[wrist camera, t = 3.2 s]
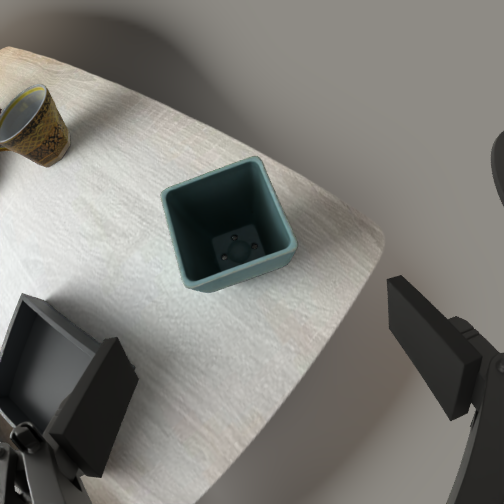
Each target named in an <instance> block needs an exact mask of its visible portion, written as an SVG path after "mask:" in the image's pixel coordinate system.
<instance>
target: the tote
mask: <svg viewBox="0 0 504 504" xmlns="http://www.w3.org/2000/svg"><path fill="white" fill-rule="evenodd" d="M100 346H101V343H99V342H98V341H96V340H95V339H94V338H92V337H91V336H89V335H88V334H87V333H85V332H84V331H83V330H81V329H80V328H79V327H77V326H76V325H75V324H73V323H72V322H71V321H69V320H68V319H67V318H66V317H64V316H63V315H62V314H60V313H59V312H58V311H57V310H55V309H54V308H53V307H52V306H51V305H49V304H48V303H47V302H46V301H44V300H42V299H39V298H36V297H32V296H29V295H26V294H23V293H22V294H21V296H20V299H19V301H18V304H17V306H16V309H15V311H14V314H13V317H12V319H11V322H10V325H9V327H8V330H7V333H6V336H5V339H4V342H3V345H2V348H1V351H0V414H1V415H2V416H3V417H4V418H5V419H6V420H7V422H8V423H9V424H10V425H11V426H12V427H13V428H15V427H16V426H17V425H19V424H20V423H23V422H31V423H33V424H34V426H35V427H36V428H37V430H38V431H39V432H40V433H41V435H43V433H44V431H45V429H46V428H47V426H48V424H49V422H50V421H51V419H52V417H53V416H54V414H55V412H56V410H58V407H59V405H60V404H61V402H62V400H63V399H65V398H66V397H67V396H68V395H69V394H70V393H72V391H73V389H74V388H75V386H76V384H77V383H78V381H79V379H80V378H81V376H82V375H83V373H84V371H85V370H86V368H87V366H88V365H89V363H90V362H91V360H92V359H93V357H94V355H95V354H96V352H97V351H98V349H99V348H100ZM131 365H132V364H131ZM132 367H133V369H135V366H133V365H132ZM77 475H78V476H79V477H81V476H83V475H85V474H84V473H83V472H82V471H81V470H80V469H78V471H77Z"/></svg>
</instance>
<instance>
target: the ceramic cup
mask: <svg viewBox="0 0 504 504" xmlns="http://www.w3.org/2000/svg"><path fill="white" fill-rule="evenodd" d="M70 144H71V142H70V133H69V131H68V129H67V127H66V125H65V123H64V121H63V119H62V117H61V115H60V113H59V112H58V110H57V108H56V105H55V103H54V101H53V99H52V97H51V95H50V93H49V91H48V89H47V88H46V86H44V85H42V84H37V85H33V86H31V87H29V88H27V89H25V90H24V91H22V92H21V93H20V94H18V95H17V96H16V97H15V98H14V99H13V100H12V101H11V102H10V103H9V104H8V105H7V107H6V108H5V109H4V111H3V112H2V114H1V115H0V145H1V146H3V148H0V151H13V152H16V153H19V154H21V155H23V156H24V157H26V158H28V159H30V160H32V161H33V162H35V163H37V164H39V165H41V166H44V167H50V166H51V165H53V164H54V163H56V162H58V161H59V160H61V159H62V157H63V156H64V154H65V153H66V151H67V149H68V148H69V146H70Z"/></svg>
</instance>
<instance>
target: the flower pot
mask: <svg viewBox="0 0 504 504" xmlns="http://www.w3.org/2000/svg"><path fill="white" fill-rule="evenodd" d="M160 197H161V202H162V206H163V210H164V213H165V217H166V221H167V225H168V229H169V232H170V237H171V241H172V245H173V248H174V252H175V256H176V260H177V263H178V267H179V271H180V275H181V279H182V282H183V284H184V286H185V287H186V288H188V289H192V290H196V291H200V292H205V293H211V292H215V291H218V290H221V289H224V288H226V287H229V286H232V285H235V284H237V283H240V282H243V281H246V280H248V279H251V278H254V277H257V276H260V275H262V274H265V273H268V272H271V271H273V270H276V269H279V268H282V267H284V266H286V265H287V264H288V263H289V262H290V260H291V259H292V257H293V255H294V253H295V251H296V249H297V248H298V242H297V240H296V237H295V235H294V233H293V231H292V228H291V226H290V224H289V221H288V219H287V217H286V215H285V213H284V211H283V208H282V206H281V204H280V202H279V199H278V197H277V195H276V192H275V190H274V188H273V186H272V183H271V181H270V179H269V176H268V174H267V171H266V169H265V167H264V164H263V162H262V160H261V159H260V158H259V157H258V156H252V157H249V158H246V159H243V160H240V161H238V162H235V163H232V164H229V165H227V166H224V167H222V168H219V169H216V170H213V171H210V172H208V173H206V174H203V175H200V176H198V177H195V178H192V179H189V180H187V181H184V182H182V183H179V184H176V185H173V186H171V187H168V188H166V189H165V190H163V191H162V192H161V194H160ZM233 236H237V239H236V240H233V239H232V237H233ZM253 244H256V245H257V248H256V249H253V248H252V245H253ZM223 255H226V256H227V259H226V260H223V258H222V257H223Z"/></svg>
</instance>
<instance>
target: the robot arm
mask: <svg viewBox="0 0 504 504" xmlns="http://www.w3.org/2000/svg"><path fill="white" fill-rule="evenodd" d="M387 291H388V313H389V329H390V330H391V332H392V333H393V335H394V336H395V338H396V339H397V341H398V342H399V343H400V345H401V346H402V348H403V349H404V351H405V352H406V354H407V355H408V356H409V358H410V359H411V361H412V362H413V364H414V365H415V367H416V368H417V370H418V371H419V373H420V374H421V376H422V377H423V379H424V380H425V382H426V383H427V385H428V387H429V388H430V390H431V391H432V393H433V394H434V396H435V397H436V399H437V400H438V402H439V404H440V405H441V407H442V408H443V410H444V412H445V413H446V414H447V416H448V418H449V420H450V421H452V420H454V419H456V418H459V417H461V416H463V415H465V414H467V413H468V411H469V407H470V404H471V403H472V404H473V405H474V407H475V408H476V411H475V414H474V417H473V420H472V422H471V425H470V427H471V430H470V434H469V438H468V441H467V445H466V448H465V452H464V455H463V458H462V462H461V465H460V468H459V471H458V474H457V476H456V480H455V482H454V485H453V487H452V490H451V493H450V495H449V498H448V500H447V503H446V504H504V353H499V352H498V351H497V350H496V349H495V348H494V347H493V346H492V345H491V344H490V343H489V342H488V341H487V340H486V339H485V338H484V337H483V336H482V335H481V334H479V332H478V331H477V330H476V329H474V328H473V326H472V325H471V324H469V323H468V322H467V321H466V320H464V319H462V318H459V317H457V316H455V317H453V318H450V319H447V318H446V317H444V315H442V314H441V313H440V312H439V311H438V310H437V309H436V308H435V307H434V306H433V305H432V304H431V303H430V302H429V301H428V300H427V299H426V298H425V297H424V296H423V295H422V294H421V293H420V292H419V291H418V290H417V289H416V288H414V287H413V286H412V285H411V284H410V283H409V282H408V281H407V280H406V279H405V278H404V277H403V276H402V275H400V276H397V277H393V278H389V279H387ZM138 380H139V378H138V377H137V375H136V373H135V371H134V369H133V367H132V365H131V363H130V361H129V359H128V357H127V356H126V354H125V352H124V350H123V347H122V345H121V343H120V341H119V339H118V337H114V338H108V339H105V340H104V341H103V343H102V344H101V346H100V348H99V349H98V351H97V352H96V354H95V355H94V357H93V359H92V360H91V362H90V363H89V365H88V366H87V368H86V370H85V371H84V373H83V375H82V376H81V378H80V379H79V381H78V383H77V384H76V386H75V388H74V389H73V391H72V393H70V394H69V395H68V396H67V397H66V398H65V399H63V400H62V402H61V404H60V405H59V407H58V410H56V412H55V414H54V416H53V417H52V419H51V421H50V422H49V424H48V426H47V428H46V429H45V431H44V433H43V435H41V433H40V432H39V431H38V430H37V428H36V427H35V426H34V424H33V423H31V422H23V423H20V424H19V425H17V426H16V427H15V428H14V429H13V430H12V432H11V434H10V439H11V440H12V442H13V443H14V444H15V445H16V446H17V447H18V449H19V450H13V449H12V447H11V446H10V445H9V444H8V443H5V442H4V443H0V504H92V502H91V500H90V498H89V496H88V494H87V491H86V489H85V487H84V485H83V482H82V480H81V478H80V477H79V476H78V475H77V471H78V469H80V470H81V471H82V472H83V473H84V474H85V475H86V476H89V477H98V478H102V475H103V472H104V469H105V466H106V463H107V461H108V458H109V455H110V452H111V450H112V447H113V444H114V442H115V439H116V436H117V433H118V431H119V428H120V426H121V423H122V420H123V418H124V415H125V413H126V410H127V407H128V405H129V402H130V400H131V397H132V395H133V392H134V390H135V387H136V385H137V382H138ZM14 486H16V487H18V488H19V494H18V493H17V492H15V487H14Z"/></svg>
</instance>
